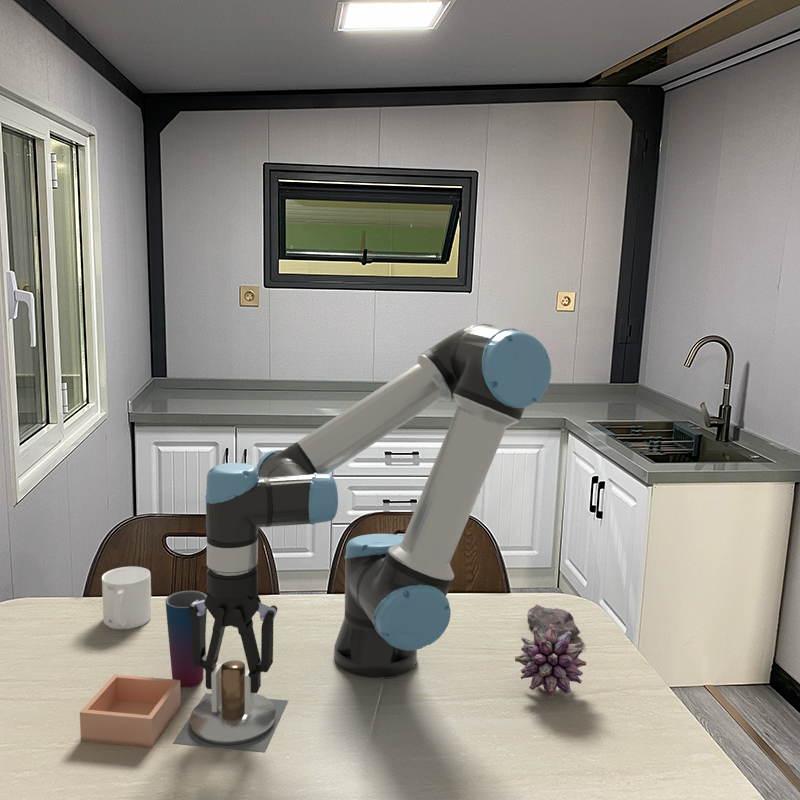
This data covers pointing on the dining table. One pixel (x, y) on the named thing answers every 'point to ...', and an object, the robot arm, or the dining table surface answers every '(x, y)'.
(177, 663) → the cup
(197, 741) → the mat
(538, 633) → the flower
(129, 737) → the dish
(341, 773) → the dining table surface
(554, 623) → the rock
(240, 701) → the lid
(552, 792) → the dining table surface
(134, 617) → the mug
